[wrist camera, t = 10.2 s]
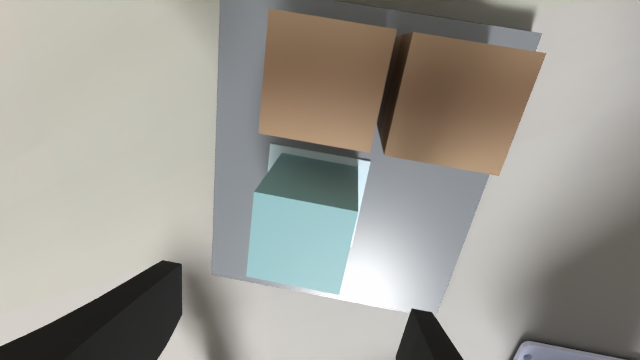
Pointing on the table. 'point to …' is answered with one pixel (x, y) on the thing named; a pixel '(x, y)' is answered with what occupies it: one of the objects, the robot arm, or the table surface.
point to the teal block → (303, 223)
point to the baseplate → (373, 168)
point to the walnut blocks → (394, 91)
